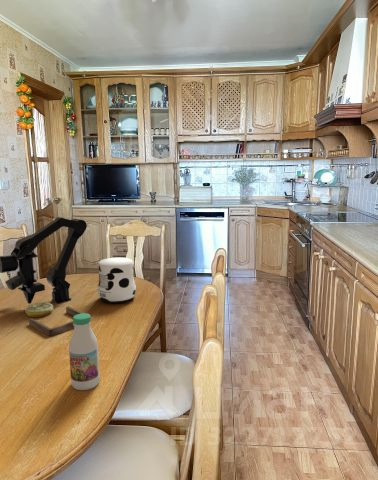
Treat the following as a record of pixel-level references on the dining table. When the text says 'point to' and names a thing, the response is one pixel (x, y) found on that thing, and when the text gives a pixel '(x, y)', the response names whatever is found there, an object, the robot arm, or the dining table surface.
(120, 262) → the milk container
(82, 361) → the milk bottle
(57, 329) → the u-shaped brown rail
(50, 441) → the dining table surface
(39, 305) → the decorated donut
